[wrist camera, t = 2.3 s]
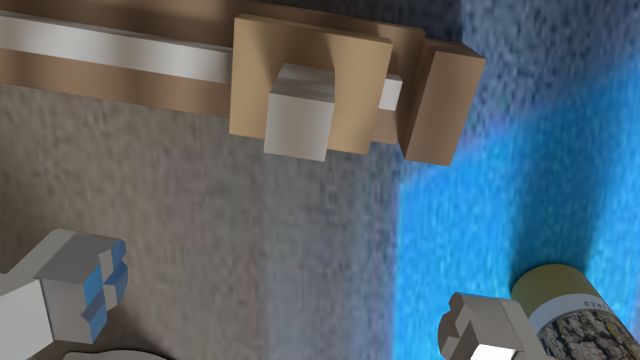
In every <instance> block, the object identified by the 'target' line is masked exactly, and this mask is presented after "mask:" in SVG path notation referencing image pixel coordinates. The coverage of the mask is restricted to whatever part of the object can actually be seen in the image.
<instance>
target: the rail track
mask: <svg viewBox="0 0 640 360" xmlns="http://www.w3.org/2000/svg"><path fill="white" fill-rule="evenodd" d="M240 14H248V15H254V16H260V17H266V18H272V19H278V20H284V21H290V22H295V23H301V24H307V25H313V26H319V27H325V28H331V29H337V30H343V31H349V32H355V33H361V34H367V35H373V36H379V37H385V38H389V39H390V40H391V42H392V43H393V48H392V53H391V57H390V61H389V65H388V70H387V74H386V78H385V82H384V87H383V91H382V95H381V100H380V104H379V108H378V112H377V117H376V121H375V125H374V130H373V134H372V138H371V141H376V142H382V143H388V144H395V145H396V143H397V139H398V141H399V144H400V147H401V150H402V153H403V156H404V159H405V160H411V161H418V162H424V163H431V164H437V165H444V166H450V163H451V160H452V157H453V155H454V152H455V149H456V146H457V143H458V140H459V137H460V134H461V132H462V129H463V126H464V123H465V120H466V117H467V114H468V112H469V109H470V106H471V103H472V100H473V97H474V94H475V91H476V89H477V86H478V83H479V80H480V77H481V74H482V71H483V68H484V66H485V63H486V60H487V59H485V58H484V57H482V56H481V55H479V54H478V53H476V52H475V51H473V50H472V49H470V48H469V47H468V46H466V45H465V44H463V43H458V42H452V41H446V40H440V39H434V38H428V37H425V35H426V31H424V30H423V29H422V28H417V27H411V26H405V25H399V24H393V23H387V22H381V21H375V20H369V19H364V18H358V17H352V16H346V15H340V14H334V13H328V12H322V11H316V10H310V9H305V8H299V7H293V6H287V5H281V4H275V3H269V2H263V1H257V0H0V83H5V84H11V85H18V86H24V87H31V88H37V89H43V90H50V91H56V92H63V93H69V94H75V95H82V96H88V97H95V98H101V99H107V100H114V101H120V102H126V103H133V104H139V105H146V106H152V107H158V108H165V109H171V110H178V111H184V112H190V113H197V114H203V115H209V116H216V117H222V118H229V119H230V107H231V86H232V64H233V43H234V22H235V17H237V16H239V15H240Z"/></svg>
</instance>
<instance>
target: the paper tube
mask: <svg viewBox="0 0 640 360" xmlns="http://www.w3.org/2000/svg"><path fill="white" fill-rule="evenodd" d="M511 300H516V301H517V302H518V303H519V304H520V305H521V307H522V309H523V311H524V313H525V315H526V317H527V318H528V320H529V322H530V324H531V326H532V328H533V330H534V332H535V334H536V335H537V337H538V339H539V341H540V343H541V345H542V347H543V349H544V351H545V352H546V354H547V356H551V357H554V358H555V359H557V360H640V345H639V344H638V343H637V341H636V340H635V339H634V338H633V336H632V335H631V334H630V332H629V331H628V330H627V329H626V327H625V326H624V325H623V323H622V322H621V321H620V320H619V318H618V317H617V316H616V315H615V313H614V312H613V311H612V309H611V308H610V307H609V306H608V304H607V303H606V302H605V301H604V300H603V298H602V297H601V296H600V295H599V293H598V292H597V291H596V289H595V288H594V287H593V286H592V284H591V283H590V282H589V280H588V279H587V278H586V277H585V275H584V274H583V273H582V272H580V271H579V270H578V269H576V268H574V267H571V266H568V265H564V264H546V265H542V266H538V267H536V268H533V269H531V270H529V271H528V272H526V273H525V274H523V275H522V276H521V277H520V278H519V279H518V280H517V282H516V283H515V285H514V287H513V290H512V293H511Z"/></svg>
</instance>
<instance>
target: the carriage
mask: <svg viewBox="0 0 640 360" xmlns="http://www.w3.org/2000/svg"><path fill="white" fill-rule="evenodd" d="M392 48H393V43H392V42H391V40H390V39H389V38H385V37H379V36H373V35H367V34H361V33H355V32H349V31H343V30H337V29H331V28H325V27H319V26H313V25H307V24H301V23H295V22H290V21H284V20H278V19H272V18H266V17H260V16H254V15H248V14H240V15H239V16H237V17H235V22H234V43H233V64H232V86H231V107H230V129H229V134H235V135H242V136H248V137H255V138H261V139H265V144H264V153H271V154H277V155H284V156H290V157H297V158H303V159H310V160H316V161H323V162H324V161H325V155H326V150H327V149H332V150H339V151H345V152H351V153H358V154H364V155H368V151H369V147H370V142H371V138H372V134H373V130H374V125H375V121H376V117H377V112H378V108H379V104H380V100H381V95H382V91H383V87H384V82H385V78H386V74H387V70H388V65H389V61H390V57H391V53H392Z"/></svg>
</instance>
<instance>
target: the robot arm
mask: <svg viewBox="0 0 640 360" xmlns="http://www.w3.org/2000/svg"><path fill="white" fill-rule="evenodd" d="M125 254H126V246H125V241H123V240H122V239H118V238H112V237H107V236H101V235H96V234H90V233H84V232H76V231H71V230H66V229H60V228H59V229H56V230H53V231H51V232H50V233H49V234H48V235H47V236H46V237H45V238H44V239H43V240H42V241H41V242H40V243H39V244H38V245H37V246H36V247H34V248H33V249H32V250H31V251H30V252H29V253H28V254H27V255H26V256H25V257H24V258H23V259H22V260H21V261H20V262H19V263H18V264H17V265H16V266H15V267H13V268H12V269H11V270H10V271H9V272H8V273H7V274H1V273H0V360H27V359H28V358H30V357H31V356H33V355H34V354H36V353H37V352H39V351H40V350H42V349H43V348H45V347H46V346H47V345H49V344H50V343H52V342H53V339H54V340H63V341H71V342H80V343H88V344H93V342H94V341H95V339H96V338H97V336H98V335H99V333H100V331H101V330H102V328H103V327H104V325H105V324H106V322H107V311H108V310H110V309H111V308H113V307H115V306H117V305H118V303H119V301H120V300H121V298H122V296H123V294H124V291H125V288H126V285H127V280H128V267H127V265H126V264H125V263H124V262H123V261H122V258H123V257H124V255H125ZM449 306H450V309H451V311H449V312H447V313H446V314H444V315H443V316H442V318H441V321H440V323H439V328H438V346H439V350H440V354H441V355H442V356H443V357H444V358H445V359H446V360H557V359H555V358H554V357H551V356H547V354H546V352H545V351H544V349H543V347H542V345H541V343H540V341H539V339H538V337H537V335H536V334H535V332H534V330H533V328H532V326H531V324H530V322H529V320H528V318H527V317H526V315H525V313H524V311H523V309H522V307H521V305H520V304H519V303H518V302H517V301H516V300H511V299H504V298H497V297H495V298H493V297H488V296H481V295H474V294H468V293H461V292H455V293H454V294H453V295H452V296H451V299H450V301H449ZM63 360H166V359H164V358H162V357H159V356H156V355H153V354H149V353H144V352H139V351H130V350H116V351H108V352H103V353H98V354H88V353H78V352H71V353H67V354H66V355H65V356H64V358H63Z"/></svg>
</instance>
